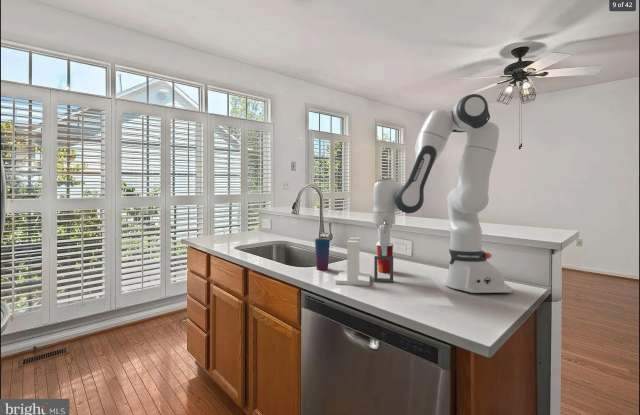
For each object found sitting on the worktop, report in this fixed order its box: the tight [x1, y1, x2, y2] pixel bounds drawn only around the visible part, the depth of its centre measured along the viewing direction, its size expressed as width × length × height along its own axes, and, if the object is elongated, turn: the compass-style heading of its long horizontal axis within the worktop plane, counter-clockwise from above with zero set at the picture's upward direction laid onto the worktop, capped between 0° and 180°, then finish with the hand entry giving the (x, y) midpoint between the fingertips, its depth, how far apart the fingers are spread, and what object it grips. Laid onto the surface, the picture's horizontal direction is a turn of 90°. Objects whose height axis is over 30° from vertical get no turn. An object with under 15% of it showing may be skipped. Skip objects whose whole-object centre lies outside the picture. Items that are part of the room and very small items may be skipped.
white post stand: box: [335, 237, 371, 286], centre depth 133 cm, size 13×16×16 cm
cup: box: [314, 237, 331, 272], centre depth 149 cm, size 7×7×15 cm
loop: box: [373, 248, 394, 284], centre depth 131 cm, size 7×4×13 cm, turn 81°
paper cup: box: [376, 240, 394, 274], centre depth 147 cm, size 8×8×14 cm
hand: (383, 254), depth 131 cm, fingers open, 7 cm apart
